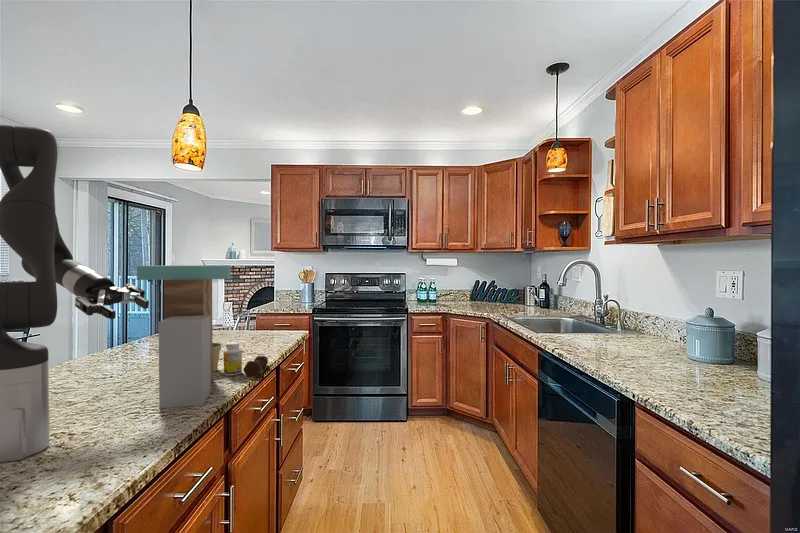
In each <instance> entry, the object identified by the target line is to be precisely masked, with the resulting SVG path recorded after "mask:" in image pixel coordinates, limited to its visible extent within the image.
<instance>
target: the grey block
mask: <svg viewBox="0 0 800 533" xmlns="http://www.w3.org/2000/svg"><path fill="white" fill-rule="evenodd" d="M211 383H212V382H211V371H210V315H203V316H171V317H169V318H166V319H162V320H160V321H158V388H159V389H158V392H159V393H158V401H159V403H158V404H159V406H158V409H167V408H169V409H170V408H181V407H182V408H183V407H194V406H203V405H204V404H205V402H206V400H207V399H208V397H209V396H210V394H212V392H211V387H212V386H211Z"/></svg>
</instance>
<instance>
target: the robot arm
mask: <svg viewBox="0 0 800 533" xmlns="http://www.w3.org/2000/svg"><path fill="white" fill-rule="evenodd" d="M58 151H59V150H58V142H57V139H56V136H55V135H54V134H53V132H52V131H50V130H49V129H45V128H42V127H33V126H19V125H7V124H0V171H1V174H2V175H3V178H4V180H5V183H6V185H7V188H8V191H7V192H6V193H5V194H4V195H3V196H2V198H1V199H0V237H1V238H2V240H3V241H4V242H5V243H6V244H7V246H8V247H9V248H10V249H12V251H13V252H15V253H16V254H17V255H18V256H19V257H20V258H21V263H20V264H21V266H22V269H23V270H24V271H25V273H27V274H28V275H29V276H30V277H33V278H34V281H5V282H4V281H3V282H0V463H3V462H15V461H16V462H17V461H21V460H24V459H26V458H27V457H29V456H33V455H35V454H37V453H39V452H42V451H44V450H46V449H47V448H48V447H49V446H50V441H51V440H50V392H49V390H50V386H49V385H50V384H49V383H50V382H49V381H50V380H49V379H50V378H49V377H50V375H49V374H50V373H49V349H48V347H47V346H45V345H42V344H38V343H31V342H27V341H22V340H19V339H16V338H14V337H12V336H10V335H9V334H8V332H7V331H9V330H10V331H12V330H24V329H25V330H26V329H35V328H36V329H38V328H45V327H49V326H51V325H53V323H54V322H55V320H56V318H57V315H58V314H57V313H58V291H57V284H58V285H60V286H61V287H63V288H64V289H66V290H67V291H68V292H69V293H71V294H72V295H74V296H75V300H74V307H76V308H77V309H78V310H79V311H81V312H82V313H84V314H85V315H86V316H93V315H94V314H97V315H101V316H102V317H105V318H106V319H109V320H114V319H115V318H116V311H115V310H114V309H112V307H109V306H112V305H115V304H119V303H120V304H126V305H127V304H129V303H131V304H135V305H137V306H139V307H140V308H143V309H144V310H146V309H148V308H149V304H150V301H149V300H148V299H147V298H145V295H146V291H145V290H143V289H142V288H139V287H138V286H135V285H134V284H131V283H126V286H124V287H121V286H120V287H119V286H116V285H115V284H114V282H113V281H112V280H111V279H110V278H108V277H106V276H104V275H102V274H101V273H99V272H98V271H96V270H94V269H93V268H90V267H88V266H85V265H83V264H82V263H80V262H78V261H76V260H74V256H73V254H72V253H71V250H70V249H69V248H68V246H67V244H66V243H65V241H64V239H63V237H62V235H61V233H60V229H59V228H60V227H59V224H58V217H57V214H56V213H57V212H56V201H55V200H56V198H55V196H56V195H55V185H56V184H55V183H56V176H57V175H56V174H57V173H56V172H57V165H58V164H57V163H58V153H59V152H58ZM20 167H22V168H23V167H24V168H32V169H31V171H30V172H29V174H28V175H27V176H25V177H24V174H22V171H21V169H20ZM124 295H125V297H124ZM123 297H124V298H125V299H124V298H123ZM131 297H133V298H131Z"/></svg>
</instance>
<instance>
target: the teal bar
mask: <svg viewBox="0 0 800 533" xmlns="http://www.w3.org/2000/svg"><path fill="white" fill-rule="evenodd" d="M175 279H212V280H230V279H231V265H230V264H229V265H226V264H225V265H223V264H220V265H218V264H215V265H205V264H204V265H203V264H202V265H201V264H200V265H199V264H197V265H194V264H193V265H192V264H191V265H187V264H186V265H183V264H182V265H180V264H179V265H158V264H157V265H136V280H137V281H138V280H140V281H146V280H147V281H151V280H153V281H154V280H155V281H157V280H159V281H162V280H163V281H164V280H175Z"/></svg>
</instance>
